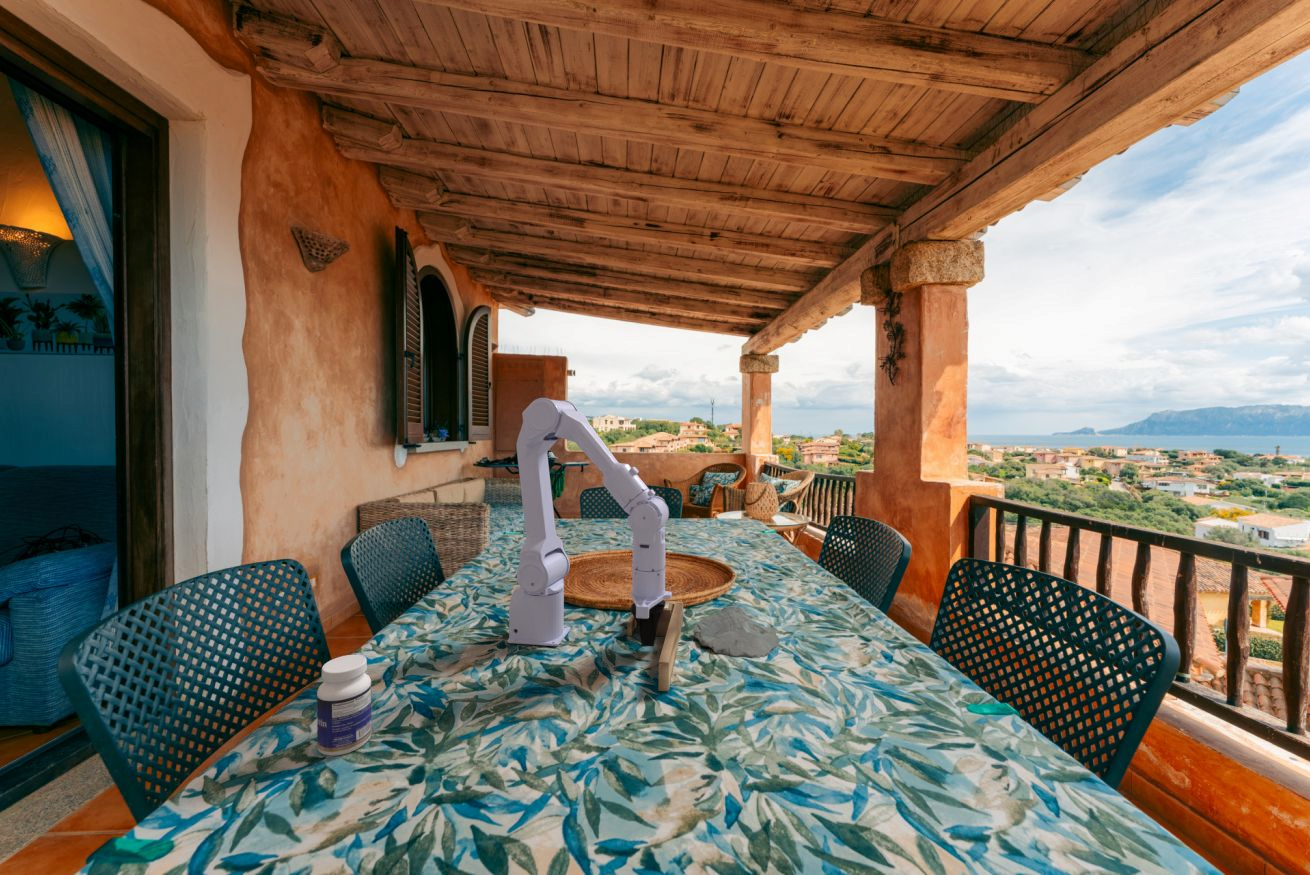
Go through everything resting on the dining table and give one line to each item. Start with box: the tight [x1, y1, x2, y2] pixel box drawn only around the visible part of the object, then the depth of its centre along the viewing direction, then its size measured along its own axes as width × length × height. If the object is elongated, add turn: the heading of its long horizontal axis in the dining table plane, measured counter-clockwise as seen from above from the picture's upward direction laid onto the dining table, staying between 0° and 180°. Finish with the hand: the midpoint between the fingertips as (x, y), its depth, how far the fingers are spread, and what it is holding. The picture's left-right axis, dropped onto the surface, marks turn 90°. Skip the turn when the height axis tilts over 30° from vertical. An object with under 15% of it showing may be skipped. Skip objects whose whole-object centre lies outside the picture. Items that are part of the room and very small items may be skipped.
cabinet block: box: [656, 603, 673, 637], centre depth 97 cm, size 6×4×5 cm, turn 82°
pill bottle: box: [316, 654, 373, 757], centre depth 62 cm, size 6×6×10 cm
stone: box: [692, 605, 780, 659], centre depth 94 cm, size 16×4×15 cm
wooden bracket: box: [626, 600, 684, 692], centre depth 89 cm, size 10×28×4 cm, turn 172°
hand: (648, 644), depth 89 cm, fingers closed
